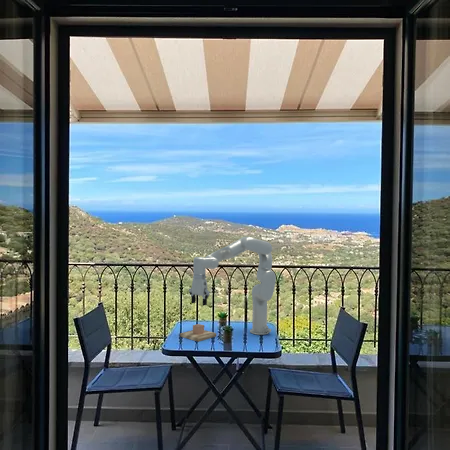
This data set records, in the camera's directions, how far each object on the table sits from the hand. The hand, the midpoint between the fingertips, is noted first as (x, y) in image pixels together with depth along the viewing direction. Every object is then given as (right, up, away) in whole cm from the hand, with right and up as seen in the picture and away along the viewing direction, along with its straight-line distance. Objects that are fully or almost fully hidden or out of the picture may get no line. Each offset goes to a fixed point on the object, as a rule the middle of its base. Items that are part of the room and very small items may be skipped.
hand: (199, 304), depth 248 cm
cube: (0, -18, 0) cm, 18 cm away
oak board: (0, -20, 0) cm, 20 cm away
